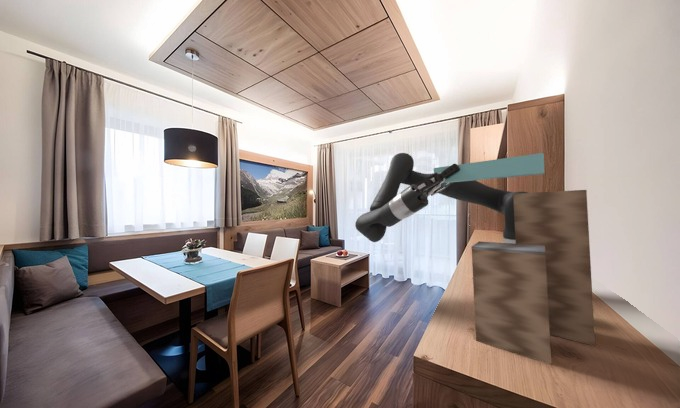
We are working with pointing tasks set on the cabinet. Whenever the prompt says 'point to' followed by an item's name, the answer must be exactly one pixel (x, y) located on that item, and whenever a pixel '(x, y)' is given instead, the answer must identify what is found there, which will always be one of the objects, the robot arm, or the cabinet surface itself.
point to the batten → (498, 168)
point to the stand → (561, 257)
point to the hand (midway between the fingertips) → (460, 167)
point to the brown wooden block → (512, 298)
